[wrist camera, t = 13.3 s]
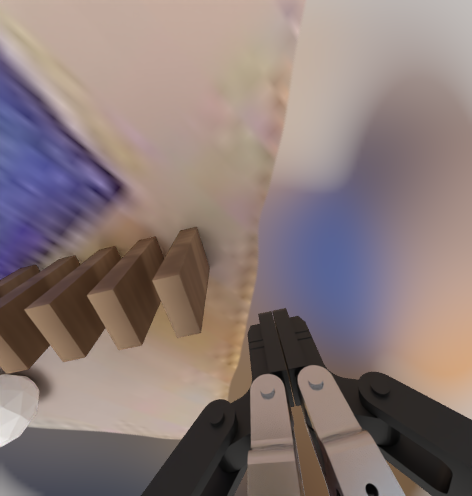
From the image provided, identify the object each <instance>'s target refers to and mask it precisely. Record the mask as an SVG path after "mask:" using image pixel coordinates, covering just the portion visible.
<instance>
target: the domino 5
mask: <svg viewBox="0 0 472 496" xmlns="http://www.w3.org/2000/svg"><path fill="white" fill-rule="evenodd" d="M209 270H210V268H209V264H208V261H207V258H206V255H205V252H204V249H203V245H202V242H201V239H200V236H199V233H198V229H197V227H194V228H190V229H186V230H181V231H180V232H179V234H178V235H177V237H176V239H175V241H174V243H173V244H172V246H171V248H170V250H169V251H168V253H167V255H166V257H165V259H164V260H163V262H162V264H161V266H160V268H159V269H158V271H157V273H156V275H155V277H154V278H153V280H152V281H153V284H154V286H155V288H156V291H157V293H158V295H159V298H160V300H161V302H162V304H163V307H164V309H165V311H166V314H167V316H168V318H169V320H170V323H171V325H172V327H173V330H174V332H175V334H176V337H177V338H180V337H184V336H189V335H194V334H199V333H201V329H202V321H203V314H204V307H205V299H206V292H207V284H208V277H209Z"/></svg>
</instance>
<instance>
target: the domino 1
mask: <svg viewBox="0 0 472 496" xmlns="http://www.w3.org/2000/svg"><path fill="white" fill-rule="evenodd" d="M39 272H40V270H39V269H38V267H37V266H36V265H33V266H28V267H24V268H20V269H18V270H17V271H15V272H13V273H12V274H10V275H8V276H6V277H5V278H3V279H1V280H0V298H1V297H3V296H4V295H6V294H7V293H9V292H10V291H12V290H13V289H15V288H16V287H18V286H19V285H21V284H22V283H24V282H26V281H27V280H29V279H30V278H32V277H33V276H35V275H36V274H38V273H39Z"/></svg>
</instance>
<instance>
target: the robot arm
mask: <svg viewBox="0 0 472 496" xmlns="http://www.w3.org/2000/svg"><path fill="white" fill-rule="evenodd" d="M258 315H259V320H260V324H257V325H252V326H251V327H250V329H249V332H248V342H249V350H250V361H251V371H252V384H251V387H250V389H249V390H248V392H247V393H246V394H245V395H244V396H243V397H241V398H240V399H238V400H236V401H234V402H233V403H231V404H230V403H229V402H228V401H226V400H222V399H219V400H215V401H213V402H211V403H209V404H208V405H207V406H206V407H205V408H204V410H203V411H202V412H201V414H200V415H199V416H198V418H197V419H196V421H195V422H194V423H193V425H192V426H191V428H190V429H189V430H188V432H187V433H186V434H185V436H184V437H183V439H182V440H181V441H180V443H179V444H178V446H177V447H176V448H175V450H174V451H173V452H172V454H171V455H170V457H169V458H168V459H167V461H166V462H165V463H164V465H163V466H162V467H161V469H160V470H159V472H158V473H157V474H156V476H155V477H154V478H153V480H152V481H151V483H150V484H149V486H148V487H147V488H146V489H145V491H144V492H143V494H142V495H141V496H234V494H235V492H236V490H237V488H238V486H239V484H240V482H241V480H242V478H243V476H244V474H245V472H246V470H247V468H248V496H305V494H304V488H303V483H302V476H301V470H300V464H299V459H298V452H297V446H296V440H295V434H294V428H293V427H294V421H293V416H292V412H291V407H294V402H293V397H294V400H295V404H296V406H299V405H301V407H302V411H303V414H304V419H305V424H306V427H307V430H308V433H309V436H310V439H311V441H312V444H313V447H314V450H315V453H316V456H317V458H318V461H319V464H320V467H321V470H322V473H323V475H324V478H325V481H326V484H327V488H328V491H329V495H330V496H406V495H405V494H404V492H403V490H402V489H401V487H400V485H399V483H398V482H397V480H396V478H395V476H394V475H393V473H392V471H391V469H390V467H389V466H388V464H387V462H386V460H387V461H388V462H389V463H391V464H392V465H393V466H394V467H396V468H397V469H398V470H400V471H401V472H402V473H403V474H405V475H406V476H407V477H409V478H410V479H411V480H412V481H414V482H415V483H416V484H418V485H419V486H420V487H421V488H423V489H424V490H425V491H427V492H428V493H429V494H430V495H432V496H472V420H471V419H469V418H467V417H465V416H463V415H461V414H459V413H457V412H455V411H454V410H452V409H450V408H448V407H446V406H444V405H442V404H441V403H439V402H437V401H435V400H433V399H431V398H429V397H427V396H425V395H423V394H422V393H420V392H418V391H416V390H414V389H412V388H410V387H408V386H406V385H405V384H403V383H401V382H399V381H397V380H395V379H393V378H391V377H389V376H387V375H385V374H382V373H379V372H368V373H365V374H363V375H362V376H361V377H360V379H359V380H356V379H348V378H342V377H339V376H337V375H335V374H333V373H331V372H330V371H329V370H328V369H327V368H326V367H325V365H324V363H323V361H322V359H321V357H320V354H319V352H318V350H317V347H316V345H315V343H314V341H313V339H312V336H311V334H310V332H309V329H308V327H307V325H306V323H305V321H303V320H302V319H301V318H300V317H299V316H295V317H291V318H289V315H288V313H287V310H286V308H284V309H279V310H274V311H273V315H272V312H271V311H270V312H265V313H260V314H258ZM273 316H274V320H273ZM274 321H275V323H274ZM275 326H276V327H275ZM289 381H290V382H289ZM290 385H291V387H290ZM291 389H292V392H293V397H292V392H291Z"/></svg>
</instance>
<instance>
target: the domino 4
mask: <svg viewBox="0 0 472 496" xmlns="http://www.w3.org/2000/svg"><path fill="white" fill-rule="evenodd" d="M163 260H164V257H163V255H162V252H161V250H160V247H159V245H158V242H157V240H156V237H152V238H147V239H143V240H139V241H138V242H137V243H136V244H135V245H134V246H133V247H132V248H131V249H130V250H129V251H128V253H127V254H126V255H125V256H124V257H123V258H122V259H121V260H120V261H119V262H118V263H117V264H116V265H115V266H114V267H113V268H112V269H111V270H110V271H109V273H108V274H107V275H106V276H105V277H104V278H103V279H102V280H101V281H100V282H99V283H98V284H97V285H96V286H95V287H94V288H93V289H92V290H91V291H90V292H89V294H88V295H87V297H88V298H89V300H90V302H91V303H92V305H93V307H94V309H95V310H96V312H97V314H98V315H99V317H100V319H101V321H102V322H103V324H104V326H105V328H106V329H107V331H108V333H109V334H110V336H111V338H112V340H113V341H114V343H115V345H116V346H117V348H118V350H122V349H127V348H132V347H137V346H141V345H142V344H143V342H144V339H145V337H146V335H147V332H148V330H149V328H150V325H151V323H152V321H153V318H154V316H155V314H156V311H157V309H158V307H159V304H160V302H161V300H160V298H159V295H158V293H157V291H156V288H155V286H154V284H153V281H152V280H153V278H154V277H155V275H156V273H157V271H158V269H159V268H160V266H161V264H162V262H163Z"/></svg>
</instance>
